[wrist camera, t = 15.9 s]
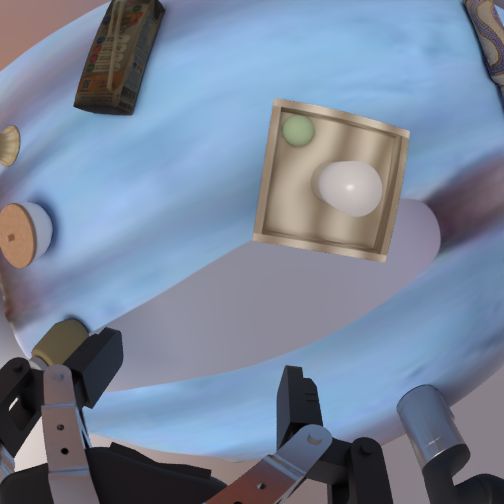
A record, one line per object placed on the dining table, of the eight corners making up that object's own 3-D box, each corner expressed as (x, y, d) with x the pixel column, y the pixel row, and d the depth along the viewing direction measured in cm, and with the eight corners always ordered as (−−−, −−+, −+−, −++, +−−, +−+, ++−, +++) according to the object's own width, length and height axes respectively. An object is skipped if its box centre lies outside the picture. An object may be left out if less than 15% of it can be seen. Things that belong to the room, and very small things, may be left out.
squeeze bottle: (83, 311, 45) (24, 364, 28) (100, 348, 47) (51, 407, 30) (56, 315, 46) (0, 362, 29) (73, 349, 48) (25, 401, 31)
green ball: (313, 121, 34) (318, 115, 30) (309, 150, 35) (314, 147, 31) (283, 115, 34) (285, 109, 30) (279, 144, 35) (280, 141, 32)
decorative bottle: (454, -1, 25) (471, -14, 18) (480, 9, 24) (498, -1, 18) (492, 123, 31) (516, 120, 25) (515, 127, 31) (538, 126, 24)
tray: (399, 133, 34) (409, 131, 31) (376, 255, 39) (384, 262, 36) (273, 104, 34) (274, 98, 31) (253, 234, 39) (252, 240, 36)
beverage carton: (169, 9, 31) (155, -11, 24) (134, 117, 36) (112, 110, 30) (126, 12, 30) (108, -4, 24) (93, 115, 36) (68, 110, 30)
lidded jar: (45, 266, 43) (13, 284, 34) (18, 224, 42) (-15, 235, 33) (70, 229, 41) (34, 244, 32) (40, 184, 39) (4, 191, 30)
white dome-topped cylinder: (352, 165, 35) (385, 166, 25) (347, 205, 37) (377, 220, 26) (313, 159, 35) (333, 156, 25) (308, 199, 37) (326, 212, 26)
